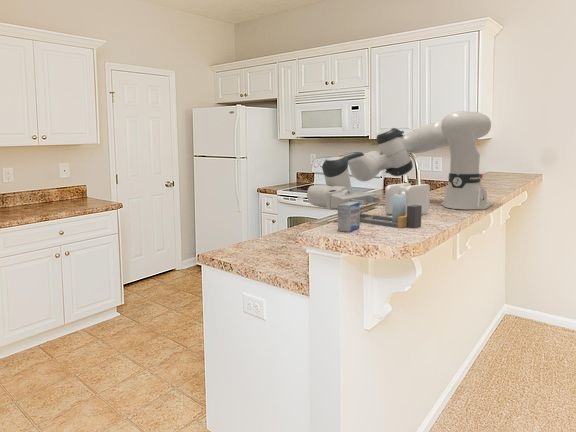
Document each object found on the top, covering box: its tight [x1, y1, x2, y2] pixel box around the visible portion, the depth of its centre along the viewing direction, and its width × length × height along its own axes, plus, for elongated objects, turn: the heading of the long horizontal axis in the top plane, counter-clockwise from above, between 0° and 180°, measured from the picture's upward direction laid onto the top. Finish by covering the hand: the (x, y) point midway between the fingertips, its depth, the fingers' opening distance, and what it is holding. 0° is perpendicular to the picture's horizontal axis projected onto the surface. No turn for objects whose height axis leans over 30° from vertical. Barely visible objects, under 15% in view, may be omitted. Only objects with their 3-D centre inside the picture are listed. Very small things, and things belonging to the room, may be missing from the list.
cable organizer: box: [384, 182, 431, 216], centre depth 177 cm, size 15×11×12 cm
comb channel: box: [360, 205, 422, 229], centre depth 159 cm, size 10×20×7 cm, turn 44°
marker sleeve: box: [391, 195, 406, 223], centre depth 157 cm, size 4×4×10 cm
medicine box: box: [337, 202, 361, 233], centre depth 150 cm, size 8×4×9 cm, turn 148°
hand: (371, 201), depth 164 cm, fingers open, 8 cm apart
